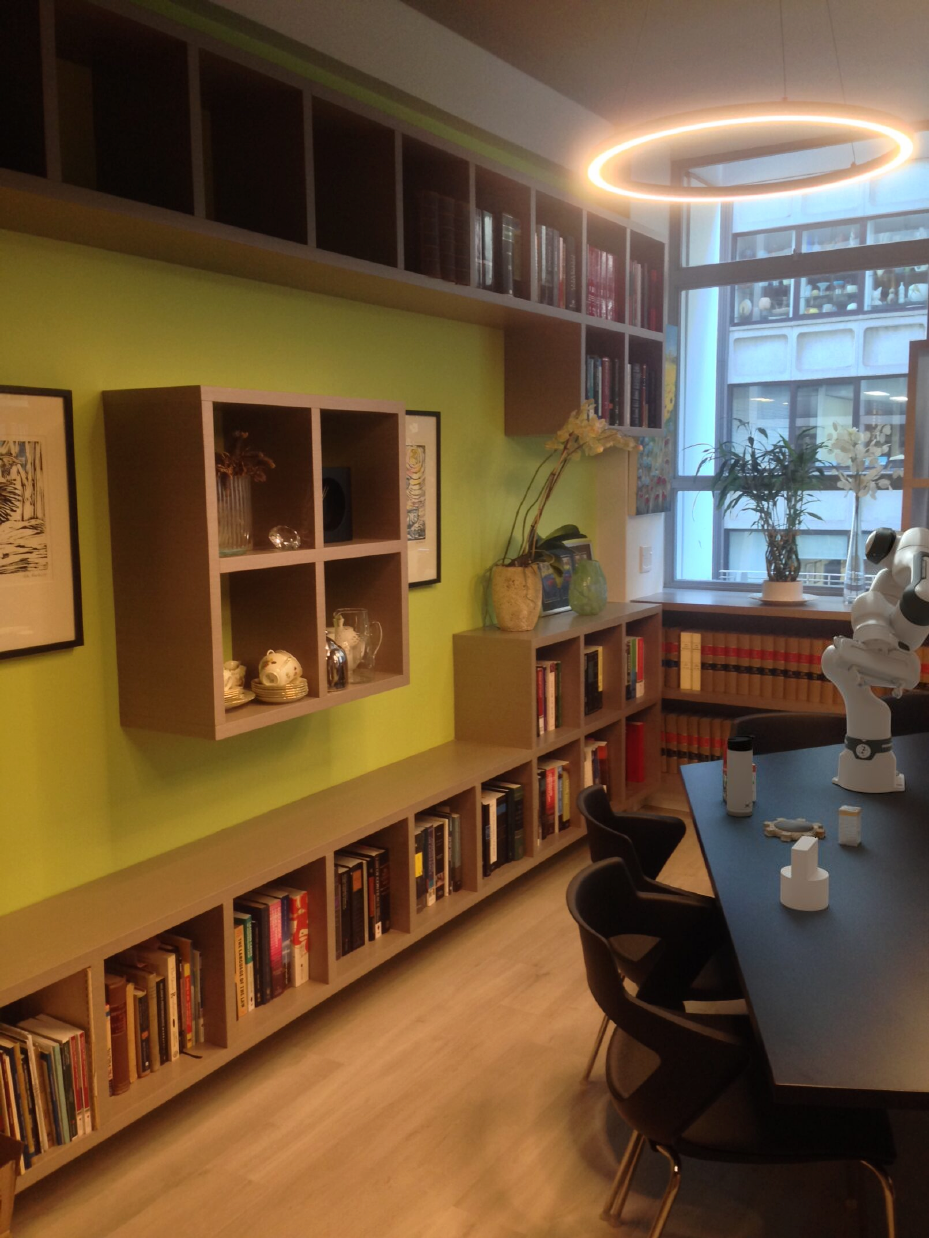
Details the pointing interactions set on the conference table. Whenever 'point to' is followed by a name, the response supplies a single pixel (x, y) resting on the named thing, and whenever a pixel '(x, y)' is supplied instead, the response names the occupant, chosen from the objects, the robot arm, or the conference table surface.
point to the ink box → (726, 776)
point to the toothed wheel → (793, 829)
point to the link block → (849, 825)
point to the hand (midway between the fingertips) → (878, 690)
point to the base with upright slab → (804, 878)
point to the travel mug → (740, 775)
